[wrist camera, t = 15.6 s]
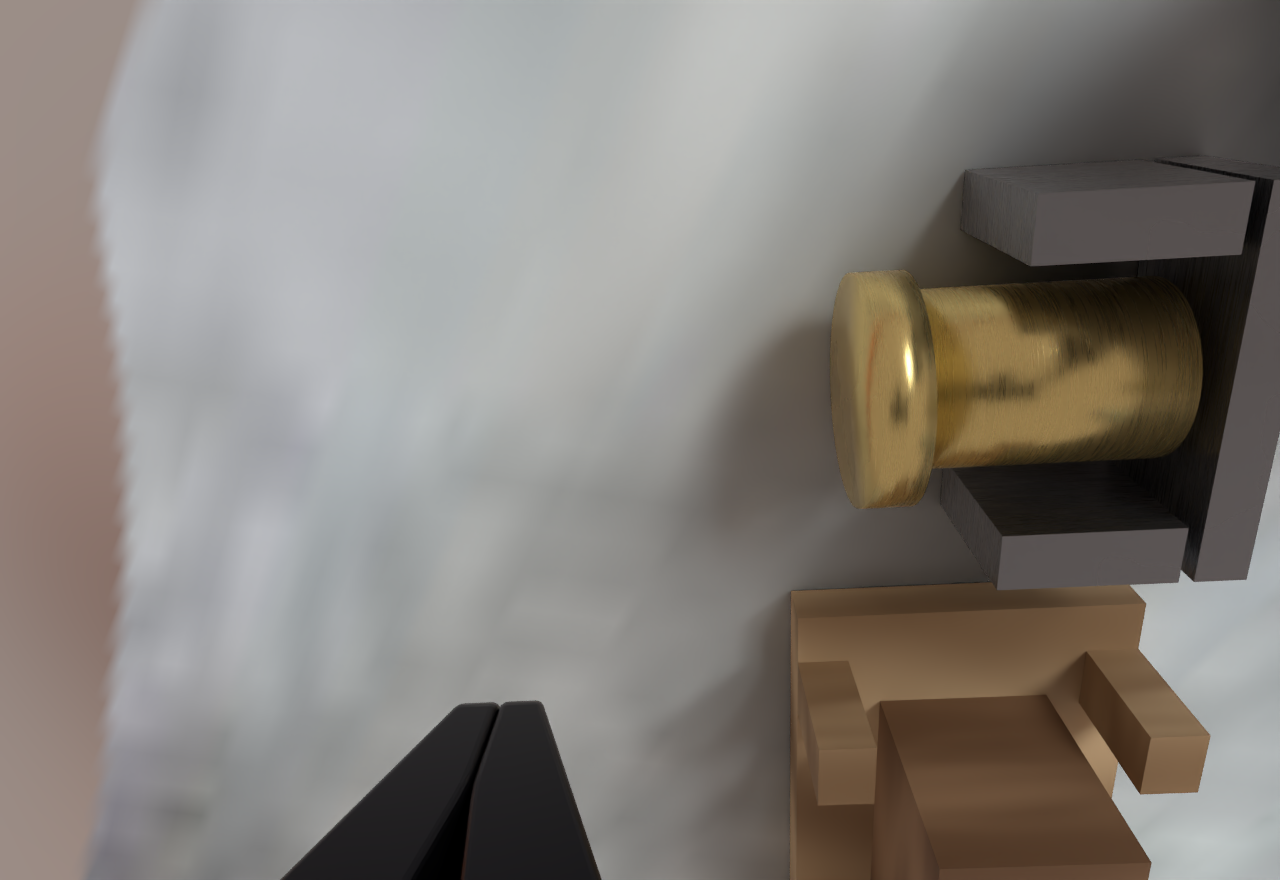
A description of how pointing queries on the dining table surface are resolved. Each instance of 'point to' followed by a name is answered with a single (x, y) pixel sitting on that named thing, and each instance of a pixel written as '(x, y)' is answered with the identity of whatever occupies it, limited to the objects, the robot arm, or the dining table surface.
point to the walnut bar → (992, 796)
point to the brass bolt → (1005, 377)
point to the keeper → (1231, 386)
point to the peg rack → (966, 693)
